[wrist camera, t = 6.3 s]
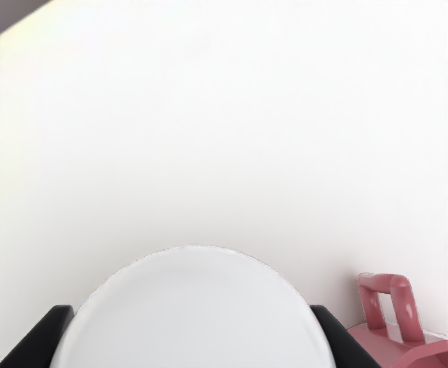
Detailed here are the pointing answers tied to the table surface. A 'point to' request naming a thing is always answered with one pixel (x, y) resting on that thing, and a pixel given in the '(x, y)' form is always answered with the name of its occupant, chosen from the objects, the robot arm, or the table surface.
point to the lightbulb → (194, 317)
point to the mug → (396, 326)
